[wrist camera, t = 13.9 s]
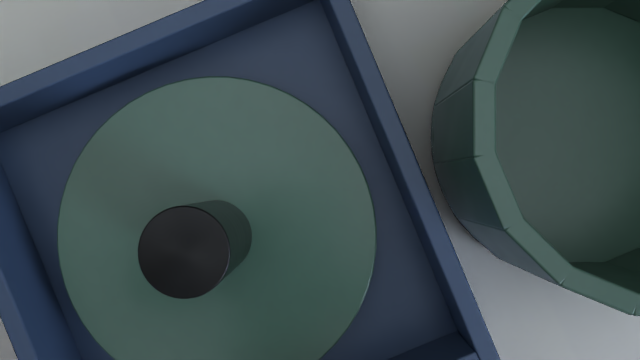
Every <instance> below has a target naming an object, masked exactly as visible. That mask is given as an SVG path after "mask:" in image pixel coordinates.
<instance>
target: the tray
mask: <svg viewBox="0 0 640 360" xmlns="http://www.w3.org/2000/svg"><path fill="white" fill-rule="evenodd" d="M206 76H229V77H236V78H243V79H250V80H253V81H257V82H261V83H264V84H268V85H271V86H273V87H275V88H278V89H280V90H283V91H285V92H287V93H289V94H291V95H293V96H294V97H296V98H298V99H300V100H301V101H303V102H305V103H306V104H308V105H309V106H310V107H312V108H313V109H314V110H315V111H317V112H318V113H319V114H321V115H322V116H323V117H324V118H325V119H326V120H327V121H328V122H329V123H330V124H331V125H332V126H333V127H334V128H335V129H336V130H337V131H338V132H339V134H340V135H341V136H342V138H343V139H344V140H345V142H346V143H347V144H348V146H349V147H350V148H351V150H352V152H353V153H354V155H355V157H356V159H357V161H358V162H359V164H360V166H361V168H362V170H363V173H364V175H365V178H366V180H367V183H368V185H369V189H370V192H371V196H372V200H373V204H374V209H375V218H376V226H377V249H376V256H375V263H374V270H373V274H372V277H371V281H370V284H369V288H368V291H367V293H366V296H365V298H364V300H363V303H362V305H361V307H360V310H359V311H358V313H357V315H356V316H355V318H354V320H353V321H352V323H351V325H350V326H349V328H348V329H347V331H346V332H345V333H344V334H343V336H342V337H341V338H340V339H339V341H338V342H337V343H336V344H335V345H334V346H333V347H332V348H331V349H330V350H329V351H328V352H327V353H326V354H325V355H324V356H323V357H322V358H321V359H320V360H500V358H499V355H498V353H497V351H496V348H495V346H494V343H493V341H492V339H491V336H490V334H489V331H488V329H487V327H486V324H485V322H484V320H483V317H482V315H481V312H480V310H479V308H478V305H477V303H476V300H475V298H474V296H473V293H472V291H471V288H470V286H469V284H468V281H467V279H466V276H465V274H464V272H463V269H462V267H461V265H460V262H459V260H458V257H457V255H456V253H455V250H454V248H453V245H452V243H451V241H450V238H449V236H448V233H447V231H446V229H445V226H444V224H443V222H442V219H441V217H440V214H439V212H438V210H437V207H436V205H435V202H434V200H433V198H432V195H431V193H430V190H429V188H428V186H427V183H426V181H425V178H424V176H423V174H422V171H421V169H420V167H419V164H418V162H417V159H416V157H415V155H414V152H413V150H412V147H411V145H410V143H409V140H408V138H407V135H406V133H405V131H404V128H403V126H402V123H401V121H400V119H399V116H398V114H397V112H396V109H395V107H394V104H393V102H392V100H391V97H390V95H389V92H388V90H387V88H386V85H385V83H384V80H383V78H382V76H381V73H380V71H379V69H378V66H377V64H376V61H375V59H374V57H373V54H372V52H371V49H370V47H369V45H368V42H367V40H366V37H365V35H364V33H363V30H362V28H361V25H360V23H359V21H358V18H357V16H356V14H355V11H354V9H353V6H352V4H351V2H350V0H204V1H202V2H200V3H197V4H195V5H193V6H190V7H188V8H185V9H183V10H181V11H178V12H176V13H174V14H171V15H169V16H166V17H164V18H162V19H159V20H157V21H155V22H152V23H150V24H148V25H145V26H143V27H140V28H138V29H136V30H133V31H131V32H129V33H126V34H124V35H122V36H119V37H117V38H114V39H112V40H110V41H107V42H105V43H103V44H100V45H98V46H95V47H93V48H91V49H88V50H86V51H84V52H81V53H79V54H77V55H74V56H72V57H69V58H67V59H65V60H62V61H60V62H58V63H55V64H53V65H51V66H48V67H46V68H43V69H41V70H39V71H36V72H34V73H32V74H29V75H27V76H24V77H22V78H20V79H17V80H15V81H13V82H10V83H8V84H6V85H3V86H1V87H0V317H1V319H2V321H3V324H4V326H5V329H6V331H7V334H8V336H9V339H10V341H11V343H12V346H13V348H14V351H15V353H16V356H17V358H18V360H115V359H113V358H112V357H111V356H110V355H109V354H108V353H107V352H106V351H105V350H104V349H103V348H102V347H101V346H100V345H99V344H98V343H97V342H96V341H95V340H94V338H93V337H92V336H91V334H90V333H89V332H88V330H87V329H86V328H85V326H84V325H83V324H82V322H81V320H80V318H79V316H78V315H77V313H76V311H75V309H74V308H73V306H72V303H71V301H70V298H69V296H68V293H67V291H66V288H65V285H64V281H63V278H62V274H61V270H60V265H59V257H58V249H57V223H58V216H59V209H60V203H61V199H62V195H63V192H64V188H65V185H66V182H67V180H68V177H69V175H70V172H71V170H72V168H73V165H74V163H75V162H76V160H77V158H78V157H79V155H80V153H81V151H82V150H83V148H84V146H85V145H86V144H87V142H88V141H89V140H90V139H91V137H92V136H93V135H94V133H95V132H96V131H97V130H98V129H99V128H100V127H101V126H102V125H103V124H104V123H105V122H106V121H107V120H108V119H109V118H110V117H111V116H112V115H113V114H114V113H116V112H117V111H118V110H120V109H121V108H122V107H123V106H125V105H126V104H127V103H129V102H130V101H132V100H134V99H136V98H137V97H139V96H141V95H143V94H145V93H146V92H148V91H151V90H153V89H156V88H158V87H161V86H163V85H166V84H169V83H173V82H177V81H180V80H184V79H190V78H198V77H206Z"/></svg>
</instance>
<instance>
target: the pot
mask: <svg viewBox="0 0 640 360" xmlns="http://www.w3.org/2000/svg"><path fill="white" fill-rule="evenodd" d="M431 146H432V157H433V162H434V167H435V172H436V175H437V178H438V181H439V184H440V187H441V190H442V192H443V194H444V196H445V198H446V200H447V202H448V204H449V206H450V208H451V209H452V211H453V212H454V214H455V216H456V217H457V219H458V220H459V221H460V222H461V223H462V225H463V226H464V227H465V228H466V229H467V230H468V231H469V232H470V234H471V235H472V236H473V237H474V238H476V239H477V240H478V241H479V242H480V243H481V244H482V245H484V246H485V247H486V248H487V249H489V250H490V251H491V252H492V253H493V254H494V255H495V256H496V257H498V258H499V259H501V260H503V261H506V262H508V263H510V264H512V265H514V266H517V267H519V268H521V269H523V270H525V271H528V272H530V273H532V274H534V275H536V276H539V277H541V278H543V279H545V280H547V281H550V282H552V283H554V284H556V285H558V286H561V287H563V288H565V289H568V290H570V291H573V292H575V293H578V294H580V295H582V296H585V297H587V298H590V299H592V300H595V301H597V302H599V303H602V304H604V305H607V306H609V307H611V308H614V309H616V310H619V311H621V312H624V313H626V314H628V315H634V316H640V0H508V1H507V2H506V3H505V4H504V5H503V6H502V7H501V8H500V9H499V10H498V11H497V12H496V13H495V14H494V15H493V16H492V17H491V18H490V19H489V20H488V21H487V22H486V23H485V24H484V25H483V26H482V27H481V28H480V29H479V30H478V31H477V32H476V33H475V34H474V35H473V36H472V37H471V38H470V39H469V40H468V41H467V42H466V43H465V44H464V45H463V46H462V47H461V48H460V49H459V50H458V51H457V53H456V54H455V55H454V58H453V60H452V63H451V65H450V66H449V68H448V70H447V72H446V74H445V76H444V78H443V81H442V83H441V85H440V88H439V91H438V94H437V97H436V100H435V104H434V109H433V116H432V126H431Z"/></svg>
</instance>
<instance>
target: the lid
mask: <svg viewBox="0 0 640 360" xmlns="http://www.w3.org/2000/svg"><path fill="white" fill-rule="evenodd" d="M57 249H58V257H59V265H60V270H61V274H62V278H63V281H64V285H65V288H66V291H67V293H68V296H69V298H70V301H71V303H72V306H73V308H74V309H75V311H76V313H77V315H78V316H79V318H80V320H81V322H82V324H83V325H84V326H85V328H86V329H87V330H88V332H89V333H90V334H91V336H92V337H93V338H94V340H95V341H96V342H97V343H98V344H99V345H100V346H101V347H102V348H103V349H104V350H105V351H106V352H107V353H108V354H109V355H110V356H111V357H112V358H113V359H115V360H320V359H321V358H322V357H323V356H324V355H325V354H326V353H327V352H328V351H329V350H330V349H331V348H332V347H333V346H334V345H335V344H336V343H337V342H338V341H339V339H340V338H341V337H342V336H343V334H344V333H345V332H346V331H347V329H348V328H349V326H350V325H351V323H352V321H353V320H354V318H355V316H356V315H357V313H358V311H359V310H360V307H361V305H362V303H363V300H364V298H365V296H366V293H367V291H368V288H369V284H370V281H371V277H372V274H373V270H374V263H375V256H376V249H377V226H376V218H375V209H374V204H373V200H372V196H371V192H370V189H369V185H368V183H367V180H366V178H365V175H364V173H363V170H362V168H361V166H360V164H359V162H358V161H357V159H356V157H355V155H354V153H353V152H352V150H351V148H350V147H349V146H348V144H347V143H346V142H345V140H344V139H343V138H342V136H341V135H340V134H339V132H338V131H337V130H336V129H335V128H334V127H333V126H332V125H331V124H330V123H329V122H328V121H327V120H326V119H325V118H324V117H323V116H322V115H321V114H319V113H318V112H317V111H315V110H314V109H313V108H312V107H310V106H309V105H308V104H306V103H305V102H303V101H301V100H300V99H298V98H296V97H294V96H293V95H291V94H289V93H287V92H285V91H283V90H280V89H278V88H275V87H273V86H271V85H268V84H264V83H261V82H257V81H253V80H250V79H243V78H236V77H229V76H206V77H198V78H190V79H184V80H180V81H177V82H173V83H169V84H166V85H163V86H161V87H158V88H156V89H153V90H151V91H148V92H146V93H145V94H143V95H141V96H139V97H137V98H136V99H134V100H132V101H130V102H129V103H127V104H126V105H125V106H123V107H122V108H121V109H120V110H118V111H117V112H116V113H114V114H113V115H112V116H111V117H110V118H109V119H108V120H107V121H106V122H105V123H104V124H103V125H102V126H101V127H100V128H99V129H98V130H97V131H96V132H95V133H94V135H93V136H92V137H91V139H90V140H89V141H88V142H87V144H86V145H85V146H84V148H83V150H82V151H81V153H80V155H79V157H78V158H77V160H76V162H75V163H74V165H73V168H72V170H71V172H70V175H69V177H68V180H67V182H66V185H65V188H64V192H63V195H62V199H61V203H60V209H59V216H58V223H57Z"/></svg>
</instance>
